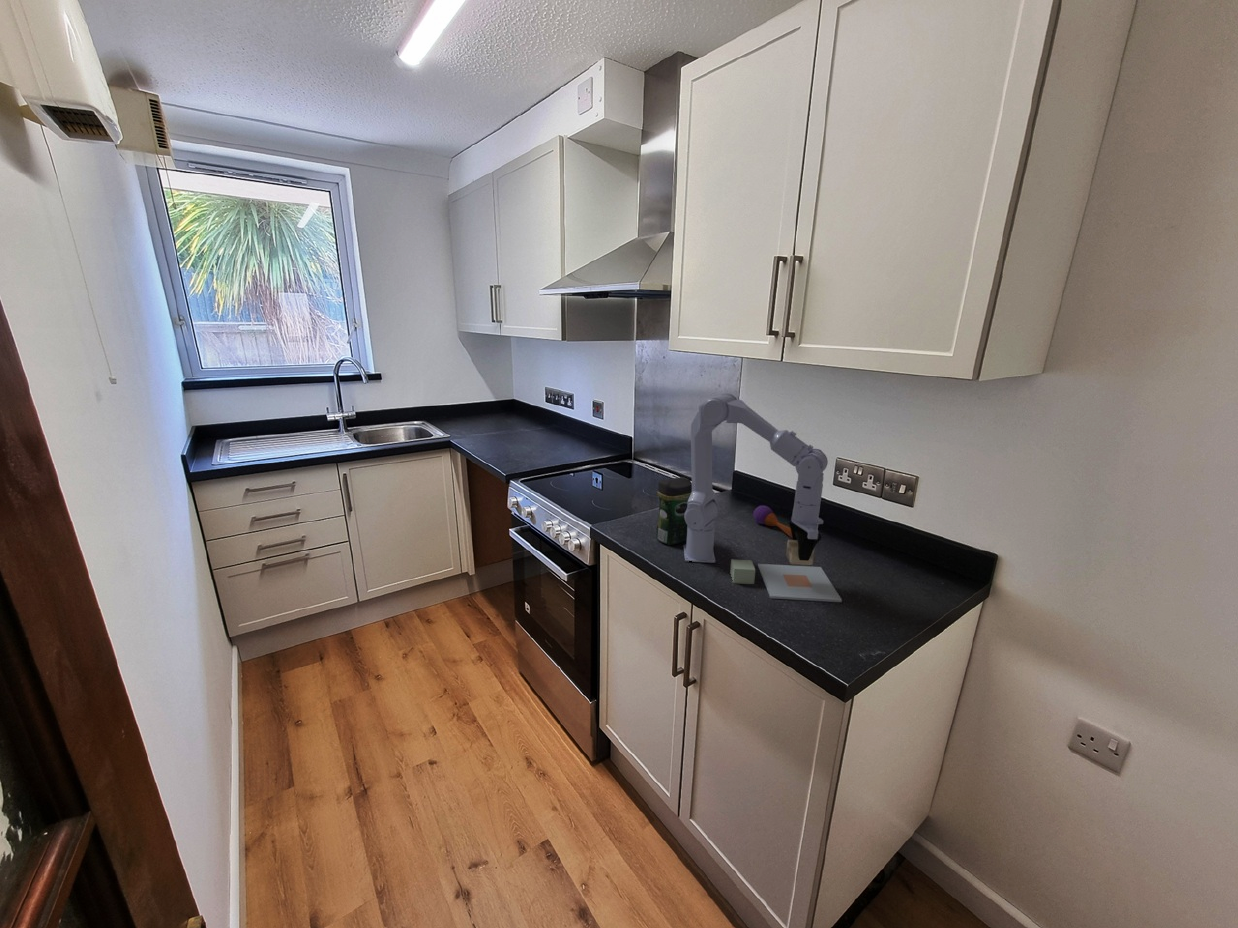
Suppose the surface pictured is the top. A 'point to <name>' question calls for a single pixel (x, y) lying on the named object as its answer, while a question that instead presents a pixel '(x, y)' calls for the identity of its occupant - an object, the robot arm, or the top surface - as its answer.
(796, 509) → the robot arm
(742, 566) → the sage block
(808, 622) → the top surface
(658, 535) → the coffee jar
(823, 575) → the baseplate
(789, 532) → the maraca
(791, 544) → the beech block
